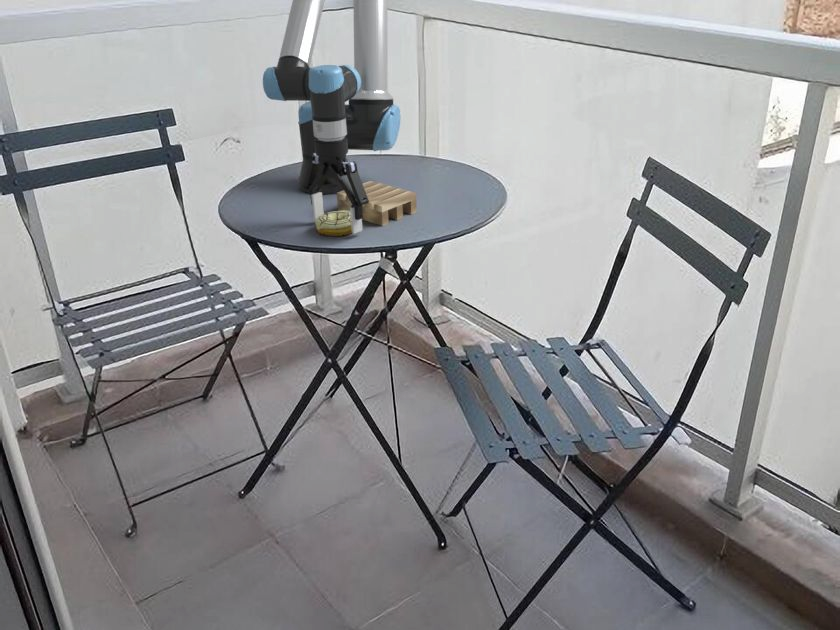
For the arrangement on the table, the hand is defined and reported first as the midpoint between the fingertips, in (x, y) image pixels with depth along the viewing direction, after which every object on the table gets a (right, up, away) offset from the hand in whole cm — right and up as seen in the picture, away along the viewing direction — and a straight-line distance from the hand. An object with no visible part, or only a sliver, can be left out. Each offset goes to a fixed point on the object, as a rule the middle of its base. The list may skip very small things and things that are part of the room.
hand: (337, 225), depth 194 cm
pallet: (+9, +5, +10) cm, 14 cm away
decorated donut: (0, -1, +1) cm, 2 cm away
